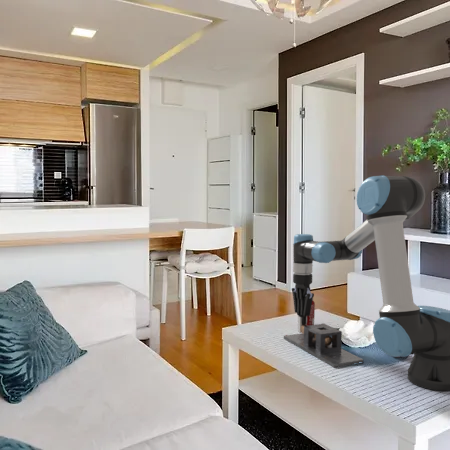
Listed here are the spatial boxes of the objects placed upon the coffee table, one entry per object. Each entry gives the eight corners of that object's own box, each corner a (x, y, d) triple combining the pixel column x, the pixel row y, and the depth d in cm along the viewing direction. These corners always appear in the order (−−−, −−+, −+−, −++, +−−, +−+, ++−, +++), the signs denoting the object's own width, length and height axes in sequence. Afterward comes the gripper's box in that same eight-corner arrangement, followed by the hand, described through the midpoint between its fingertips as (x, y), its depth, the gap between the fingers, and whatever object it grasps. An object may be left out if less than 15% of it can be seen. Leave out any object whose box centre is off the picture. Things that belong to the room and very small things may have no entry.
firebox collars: (363, 363, 163) (364, 339, 162) (334, 367, 158) (334, 343, 157) (309, 335, 194) (309, 315, 193) (283, 338, 189) (283, 318, 189)
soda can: (316, 324, 210) (317, 298, 209) (310, 328, 204) (311, 301, 203) (302, 322, 213) (302, 296, 212) (296, 325, 207) (296, 299, 207)
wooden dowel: (332, 345, 172) (332, 335, 172) (323, 346, 171) (323, 336, 170) (308, 333, 187) (308, 324, 187) (300, 334, 185) (300, 324, 185)
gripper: (320, 275, 182) (319, 335, 183) (302, 270, 194) (301, 326, 195) (303, 276, 179) (302, 337, 180) (286, 271, 191) (285, 328, 192)
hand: (301, 331), depth 188 cm, fingers closed
